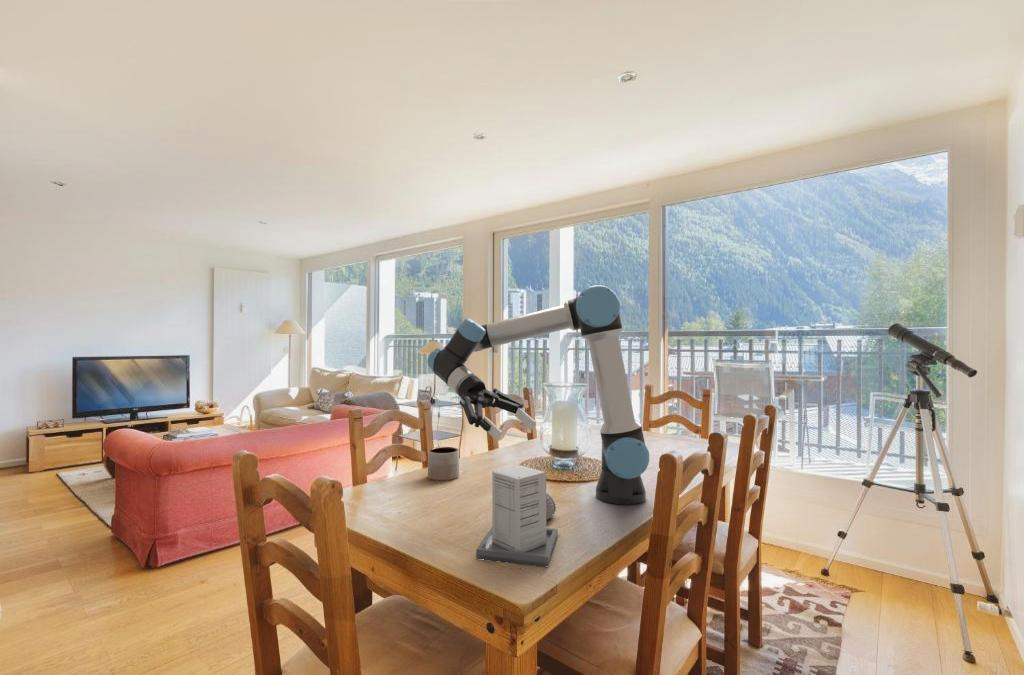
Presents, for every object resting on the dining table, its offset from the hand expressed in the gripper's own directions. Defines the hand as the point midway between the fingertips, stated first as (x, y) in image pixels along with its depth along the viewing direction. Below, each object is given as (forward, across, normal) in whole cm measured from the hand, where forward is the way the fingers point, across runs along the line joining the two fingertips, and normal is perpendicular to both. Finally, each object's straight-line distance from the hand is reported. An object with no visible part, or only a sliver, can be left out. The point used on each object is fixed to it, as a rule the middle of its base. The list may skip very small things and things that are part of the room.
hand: (517, 430), depth 129 cm
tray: (+20, +12, -16) cm, 28 cm away
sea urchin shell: (+12, -6, -23) cm, 26 cm away
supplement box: (+20, +12, -15) cm, 28 cm away
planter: (-29, -15, -47) cm, 57 cm away
